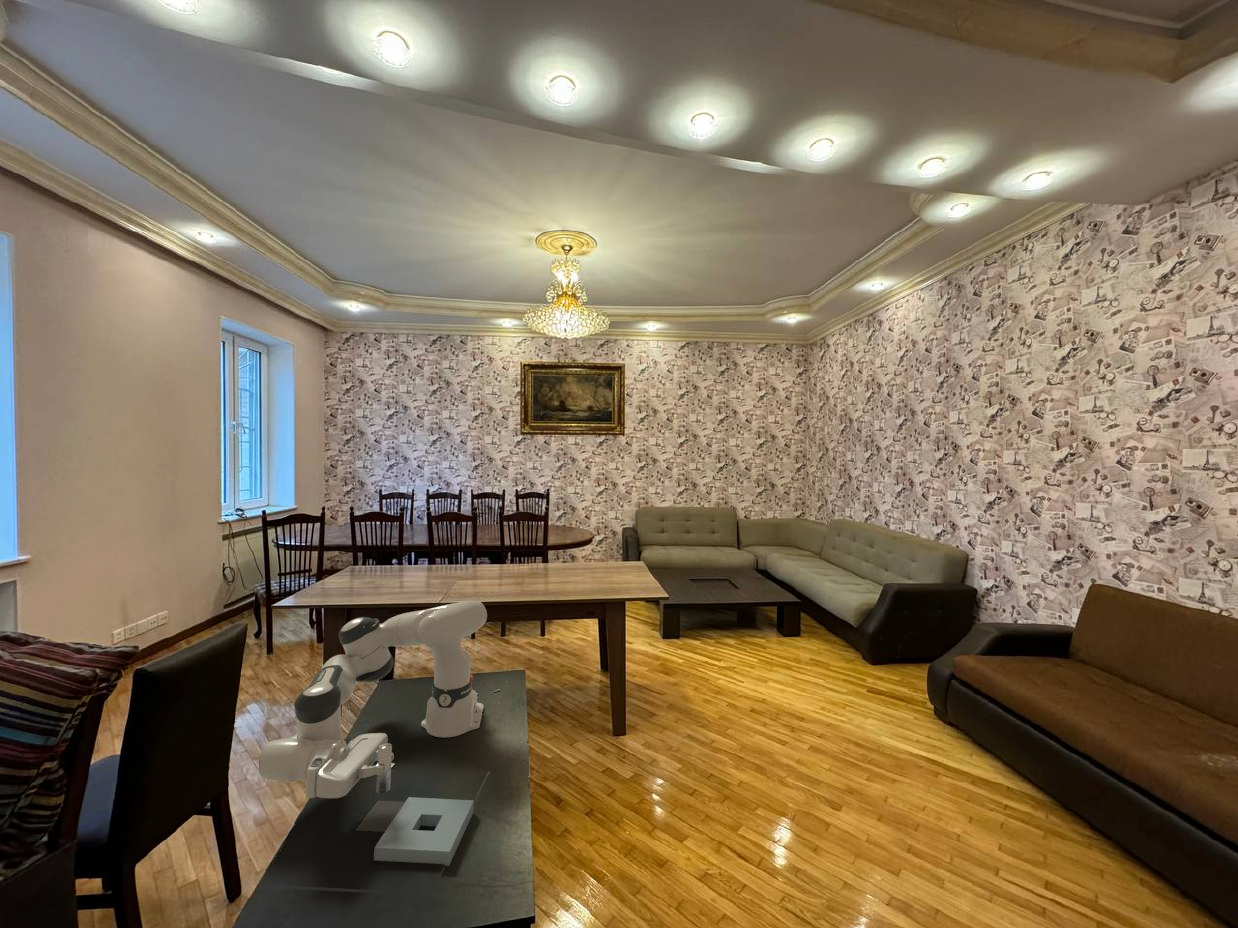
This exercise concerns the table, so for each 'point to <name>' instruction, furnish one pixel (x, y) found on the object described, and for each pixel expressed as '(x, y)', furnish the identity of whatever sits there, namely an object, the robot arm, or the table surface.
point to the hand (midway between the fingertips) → (388, 763)
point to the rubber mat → (380, 816)
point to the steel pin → (385, 777)
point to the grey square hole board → (425, 845)
